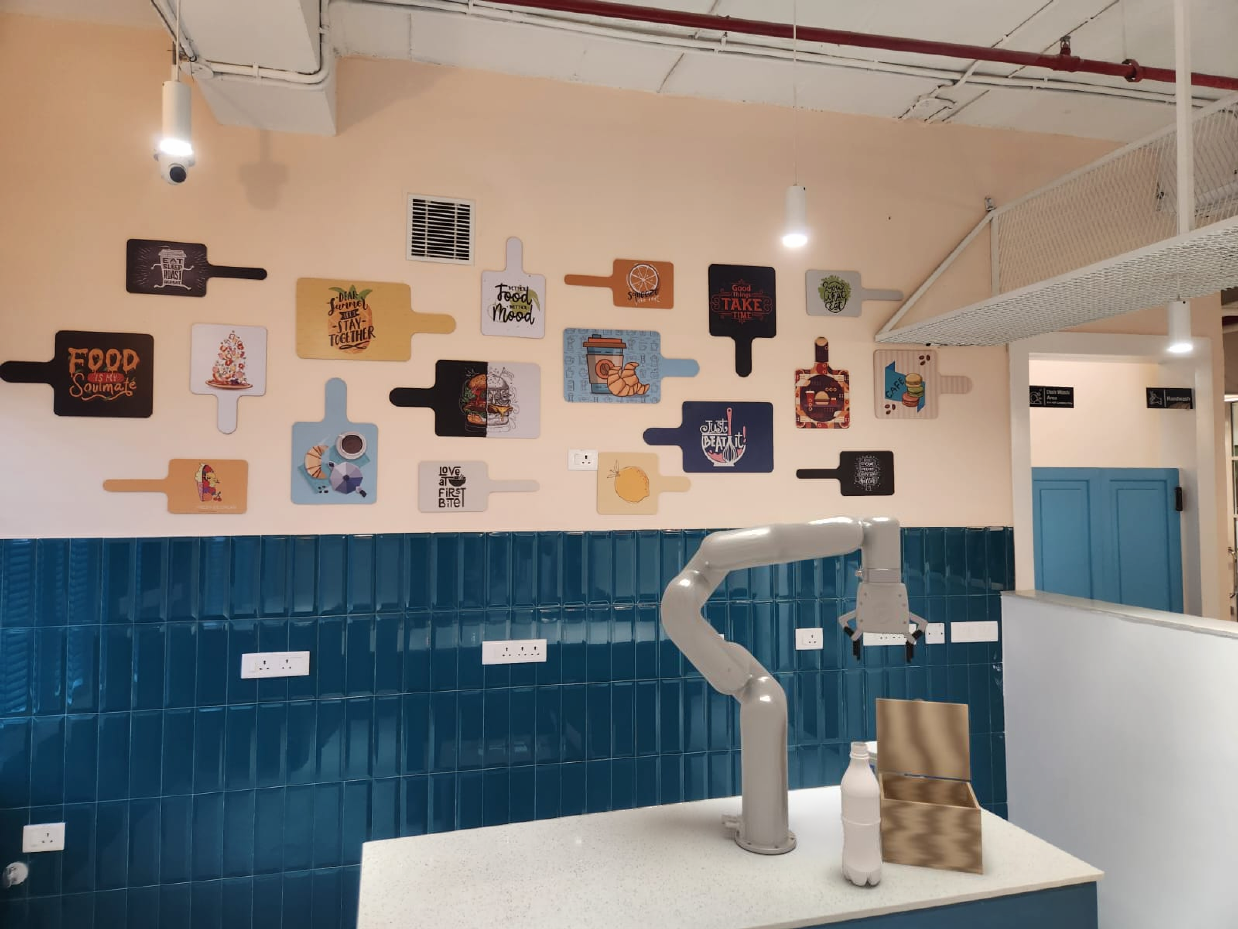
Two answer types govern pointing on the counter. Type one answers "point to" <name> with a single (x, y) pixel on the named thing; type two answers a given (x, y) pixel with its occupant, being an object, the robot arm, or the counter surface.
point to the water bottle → (860, 819)
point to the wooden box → (930, 823)
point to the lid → (923, 738)
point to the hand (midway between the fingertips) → (883, 660)
